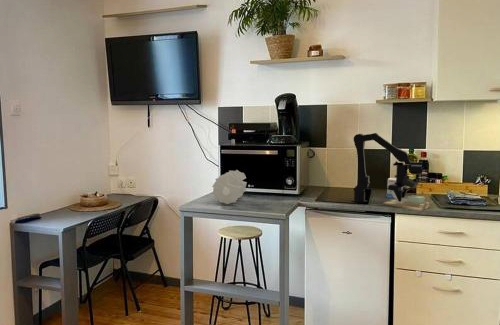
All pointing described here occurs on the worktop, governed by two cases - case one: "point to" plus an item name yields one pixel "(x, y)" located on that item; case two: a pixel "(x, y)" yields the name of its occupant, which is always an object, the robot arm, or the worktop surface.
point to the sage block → (412, 199)
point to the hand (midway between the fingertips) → (400, 201)
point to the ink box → (390, 192)
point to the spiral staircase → (229, 187)
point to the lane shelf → (408, 205)
